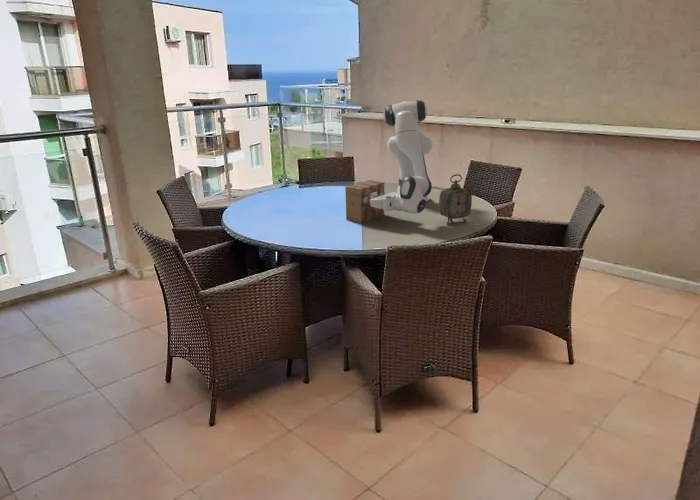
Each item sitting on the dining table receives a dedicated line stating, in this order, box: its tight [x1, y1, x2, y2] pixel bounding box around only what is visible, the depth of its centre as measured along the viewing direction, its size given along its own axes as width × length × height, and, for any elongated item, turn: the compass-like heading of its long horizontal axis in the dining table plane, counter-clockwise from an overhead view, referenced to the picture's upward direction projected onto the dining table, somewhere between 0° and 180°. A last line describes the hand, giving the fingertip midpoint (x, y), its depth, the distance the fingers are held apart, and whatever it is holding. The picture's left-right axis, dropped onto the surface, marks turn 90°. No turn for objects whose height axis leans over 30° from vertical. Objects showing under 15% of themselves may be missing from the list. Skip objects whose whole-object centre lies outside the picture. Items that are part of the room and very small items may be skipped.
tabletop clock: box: [438, 174, 473, 226], centre depth 244 cm, size 14×9×25 cm, turn 115°
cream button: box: [369, 191, 377, 203], centre depth 254 cm, size 5×4×5 cm
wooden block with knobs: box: [345, 179, 385, 224], centre depth 257 cm, size 20×12×18 cm, turn 138°
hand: (374, 197), depth 253 cm, fingers closed, pressing on cream button
